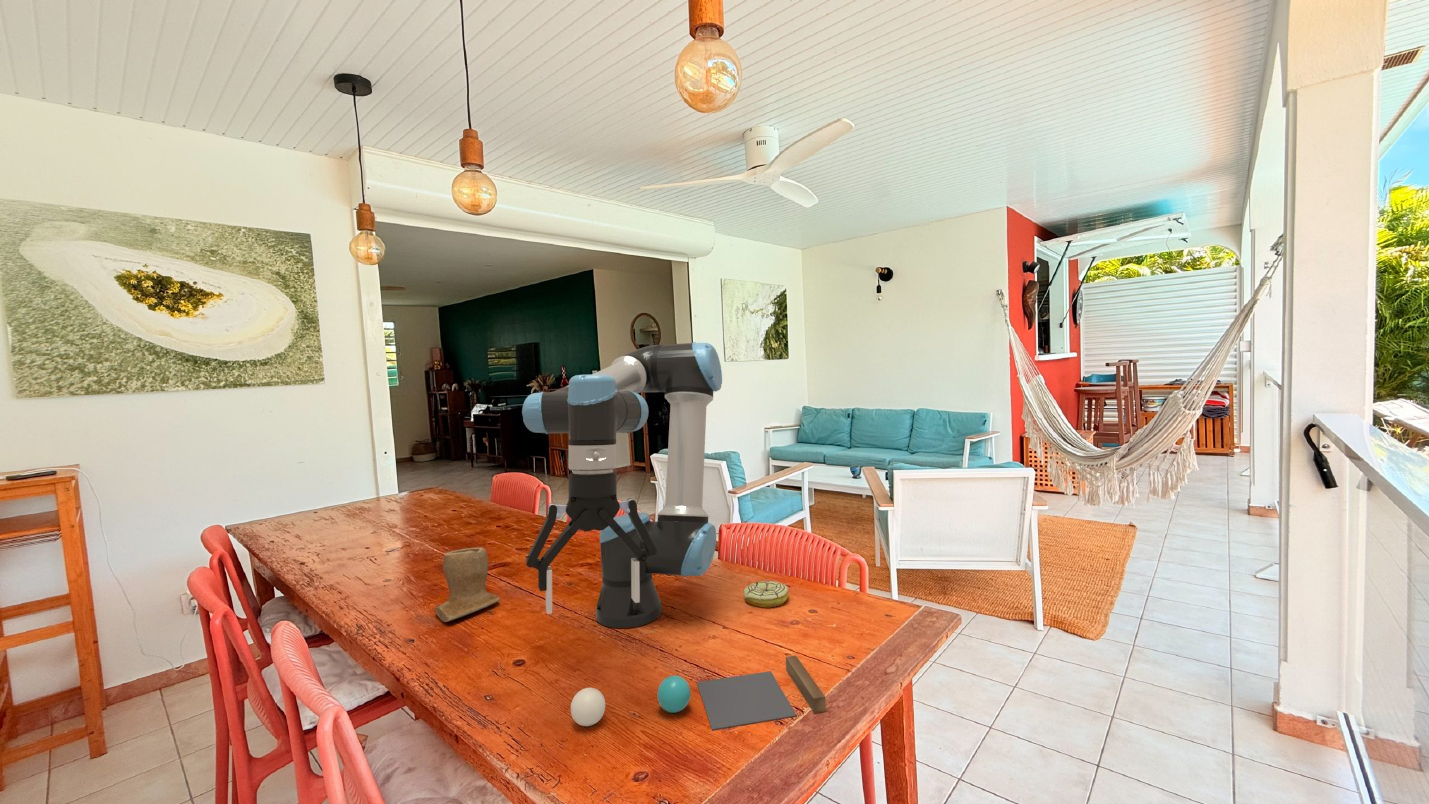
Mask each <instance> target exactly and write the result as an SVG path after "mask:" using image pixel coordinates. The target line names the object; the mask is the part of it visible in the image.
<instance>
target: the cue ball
mask: <svg viewBox="0 0 1429 804" xmlns="http://www.w3.org/2000/svg"><path fill="white" fill-rule="evenodd" d="M605 711H606V699H605V696H604V695H603V694H602V692H601V691H600V690H599V689H597V688H594V687H585V688H583V689H581V690H579V691H578V692H577V693H576V694H575V695H574V697H573V699H572V700H571V703H570V714H571V717H572V719H573V721H574V722H575V723H576V724H577V725H578V726H582V727H590V726H593V725H595V724H597V723H598V722H599V721H600V720H601V719H602V718H603V716H604V713H605Z"/></svg>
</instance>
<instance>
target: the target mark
mask: <svg viewBox="0 0 1429 804" xmlns="http://www.w3.org/2000/svg"><path fill="white" fill-rule="evenodd" d="M696 685H697V688H698V692H699V695H700V698H701V700H702V704H703V706H704V709H705V713H706V716H707V719H708V722H709V725H710V729H711V731H717V730H722V729H723V730H724V729H730V728H734V727H740V726H741V727H742V726H747V725H753V724H758V723H766V722H772V721H776V720H783V719H789V718H795V717H797V716H798V714H797V713H796V712H795V709H794V708H793V706H792V705H791V702H790V701H789V700H788V698H787V696H786V694H785V693H784V691H783V689H782V688H781V686H780V684H779V683H778V681H777V679H776V677H775V676H774V674H773V672H772V671H771V670H769V671H763V672H755V673H749V674H742V675H741V674H740V675H735V676H728V677H723V678H721V677H720V678H716V679H715V678H714V679H710V680H702V681H697V682H696Z"/></svg>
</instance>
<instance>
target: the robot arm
mask: <svg viewBox="0 0 1429 804" xmlns="http://www.w3.org/2000/svg"><path fill="white" fill-rule="evenodd" d="M722 373H723V371H722V366H721V362H720V357H719V355H718V352H717V350H716V348H715V347H714V346H713V345H712V344H711V343H707V342H696V341H694V342H689V343H673V344H670V343H669V344H654V345H653V344H652V345H648V346H644V347H641V348H639V349H635V350H632V351H630V352H628V353H625V354H623V355H621V356H619V357H617V358H615V359H614V360H613V361H612V362H611V364H610V366H607V367H605V368H602V369H601V370H599V371H597V372H594V373H592V374H576V375H574V376H572V377H571V378H569V381H568V385H566V386H564V387H561V388H558V389H556V390H554V391H551V392H550V391H549V392H546V391H541V392H534V393H531V394H529V395H527V397H526V398H525V400H524V402H523V404H522V409H521V414H522V420H523V424H524V425H525V427H526V428H527V430H529V431H530V432H532V433H538V434H539V433H541V434H545V435H549V434H568V454H567V455H568V458H567V459H568V463H567V464H568V469H569V471H572V472H571V473H569V474H568V500H567V503H566V504H555V503H554V502H550V503H549V504H548V506H547V513H546V518H545V520H544V521H543V524H542V526H541V528H540V530H539V533H538V534H537V536H536V538H535V540H534V542H533V544H532V547H531V548H530V551H529V552H528V554H527V556H526V558H525V564H526V566H527V567H528V568H533V569H536V570H537V574H538V575H537V586H538V590H539V591H540V592H544V591H545V611H546V614H547V615H550V614H553V570H552V566H550V565H551V564H552V563H553V561H554V560H555V558H556V557H557V556H558V555H559V554H560V552H561V551H562V550H563V549H564V547H566V545H568V544H567V543H568V542H569V541H570V540H571V539H572V537H573V536H575V535H576V534H577V532H578V531H582V532H584V533H585V532H591V531H599V532H600V533H599V544H600V545H599V546H600V547H599V548H600V561H601V563H600V567H601V579H602V580H601V581H602V582H601V583H602V584H601V589H600V593H599V597H598V599H597V603H596V606H595V618H596V621H597V622H598V623H599V624H601V625H602V626H604V627H608V628H612V629H613V628H614V629H631V628H636V627H640V626H644V625H647V624H649V623H652V622H654V621H655V620H657V619H658V618H659V617H660V616H661V614H662V602H661V599H660V597H659V594H658V591H657V588H656V585H655V583H654V580H653V579H654V578H653V575H654V574H655V575H667V576H682V577H685V578H686V577H701V576H702V575H704V574H706V573H707V572H708V570H709V569H710V567H711V564H712V560H713V559H714V554H715V551H716V545H717V533H716V532H717V528H716V526H715V525H714V524H712V523H711V522H709V514H708V513H707V512H706V511H705V509H704V507H703V500H704V499H703V498H704V497H703V496H704V494H703V493H704V475H705V474H704V471H705V450H706V449H705V448H706V429H707V428H706V426H707V425H706V424H707V406H708V405H709V404H710V403H711V402H712V401H714V393H715V392H718V391H720V390H721V388H722V384H723V374H722ZM640 393H664V399H665V400H667V402H668V403H669V405H670V407H669V409H670V410H669V411H670V412H669V426H668V427H669V429H668V447H667V461H666V462H667V466H666V480H665V481H666V482H665V483H666V484H665V496H664V497H665V502H664V506H663V508H662V509H661V510H660V511H659V512H658V513H657V521H655V520H654V521H651V516H650V514H649V513H647V512H638V505H637V501H636V500H634V499H633V498H630V497H629V498H626V500H621V501H618V497H617V496H618V495H617V489H618V488H617V478H618V477H617V473H616V472H615V471H614V470H615V469H616V468H617V434H620V433H622V434H625V433H626V434H630V433H632V432H636V431H639V430H640V429H642V428H643V426H644V425H645V424H646V423H647V420H648V417H649V406H648V403H647V401H646V400H645V398H644V397H643V396H642V395H640ZM620 509H621V510H622V511H623V513H625V514H622V515H617V514H618V513H619V511H620ZM564 513H566V514H567V516H568V517H569V519H570V521H569V522H568V523H567V525H566V526H565V528H564V529H563V530H562V532H561V533H560V534H559V535H558V537H557V538H556V539H555V541H553V543H552V544H551V546H549V548H548V549H547V550H546V552H545V553H544V554H543V555H542V556H541V558H539V556H540V555H541V552H542V550H543V548H544V546H545V544H546V542H547V541H548V538H549V536H550V534H551V533H552V530H553V528H554V526H555V524H556V520H557V519H560V518H561V517H562V516H563V514H564Z"/></svg>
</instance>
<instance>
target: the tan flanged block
mask: <svg viewBox="0 0 1429 804" xmlns="http://www.w3.org/2000/svg"><path fill="white" fill-rule="evenodd" d="M487 552H488V551H487V549H486V548H484V547H469V548H461V549H455V550H452V551H448V552H446V553H445V554H444V555H443V557H442V559H443V560H442V571H443V574H444V577H445V580H446V583H447V587H448V590H449V597H448V599H447V601H445V602H443V603H442V604H440V605H437V606H436V607H435V608H434V612H435V613H436V615H437V616H438V618H439V620H441V622H444V623H447V622H451V621H454V620H456V619H457V620H458V619H459V618H462V617H465V616H467V615H470V614H473V613H475V612H477V611H480V610H482V609H485V608H487V607H490V606H491V605H493V604H496V603H497V602H499V601H500V599H501V597H500V596H499V595H498V594H494V593H491V592H488V591H487V590H486V582H487V577H488V573H489V571H488V570H489V558H488V553H487Z"/></svg>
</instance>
